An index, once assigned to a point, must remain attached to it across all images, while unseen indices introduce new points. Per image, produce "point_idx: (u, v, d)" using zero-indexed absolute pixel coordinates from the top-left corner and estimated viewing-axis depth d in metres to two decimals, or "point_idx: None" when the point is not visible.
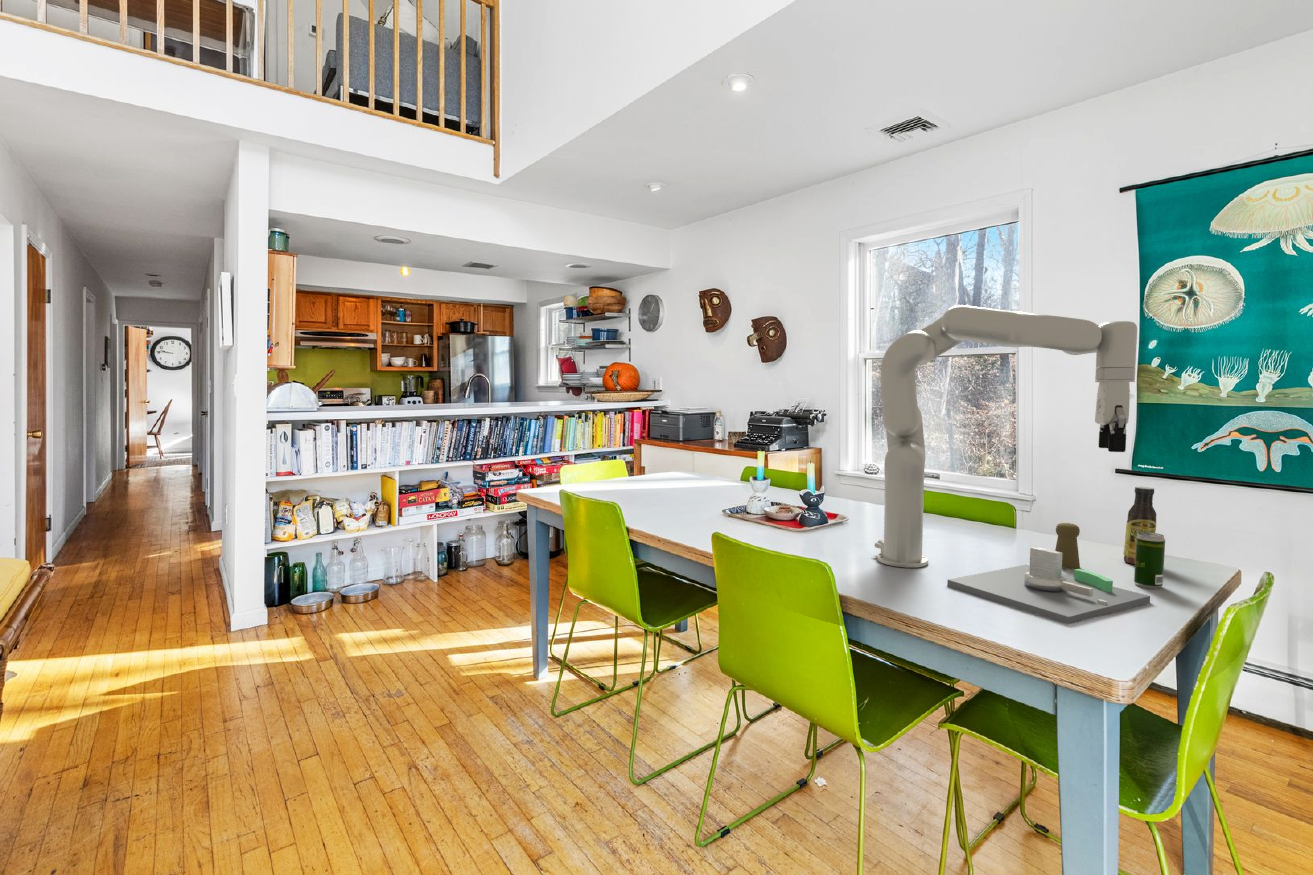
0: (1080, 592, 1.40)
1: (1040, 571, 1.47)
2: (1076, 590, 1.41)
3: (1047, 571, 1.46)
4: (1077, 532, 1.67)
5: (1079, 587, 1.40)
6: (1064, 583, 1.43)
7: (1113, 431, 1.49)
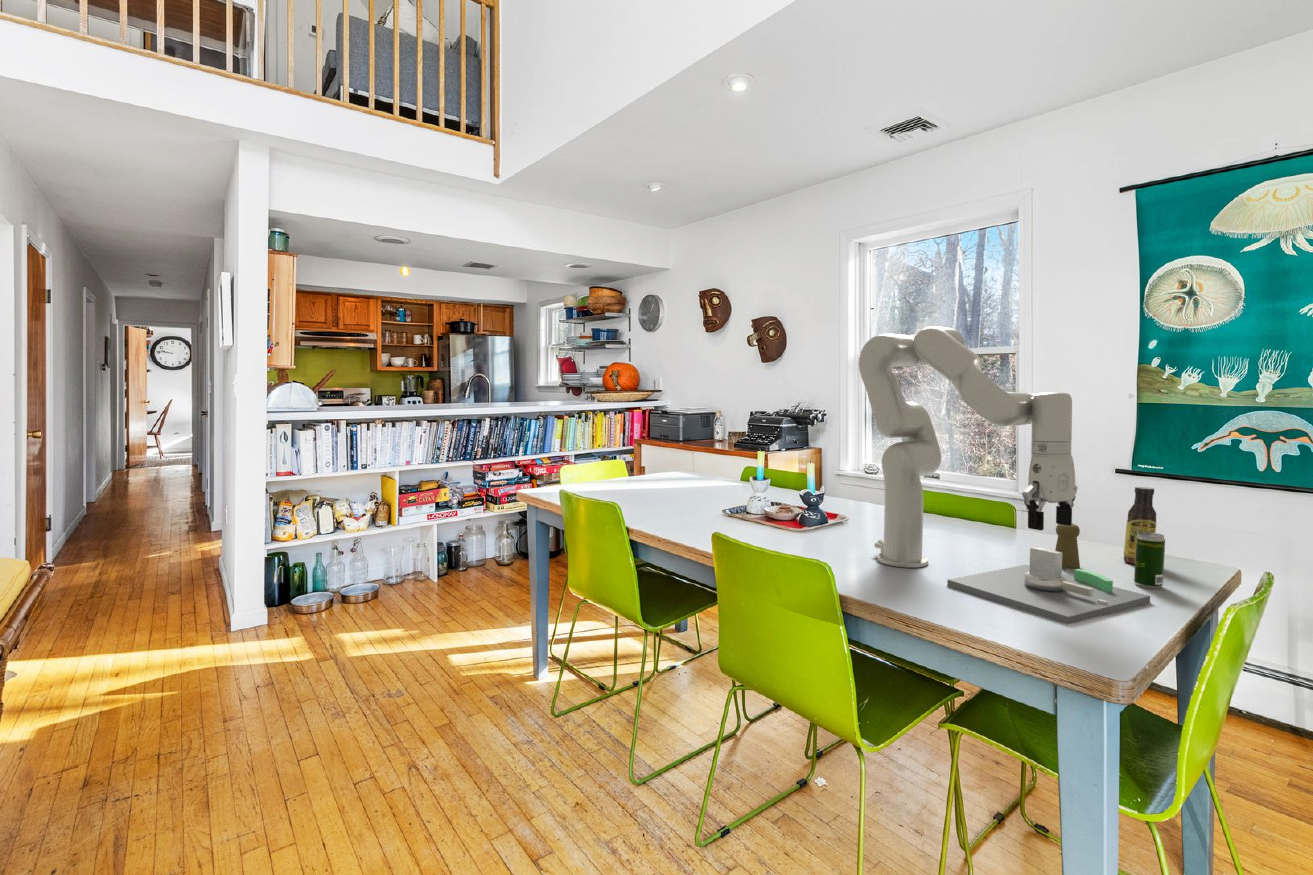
0: (1080, 592, 1.40)
1: (1040, 571, 1.47)
2: (1076, 590, 1.41)
3: (1047, 571, 1.46)
4: (1077, 532, 1.67)
5: (1079, 587, 1.40)
6: (1064, 583, 1.43)
7: None
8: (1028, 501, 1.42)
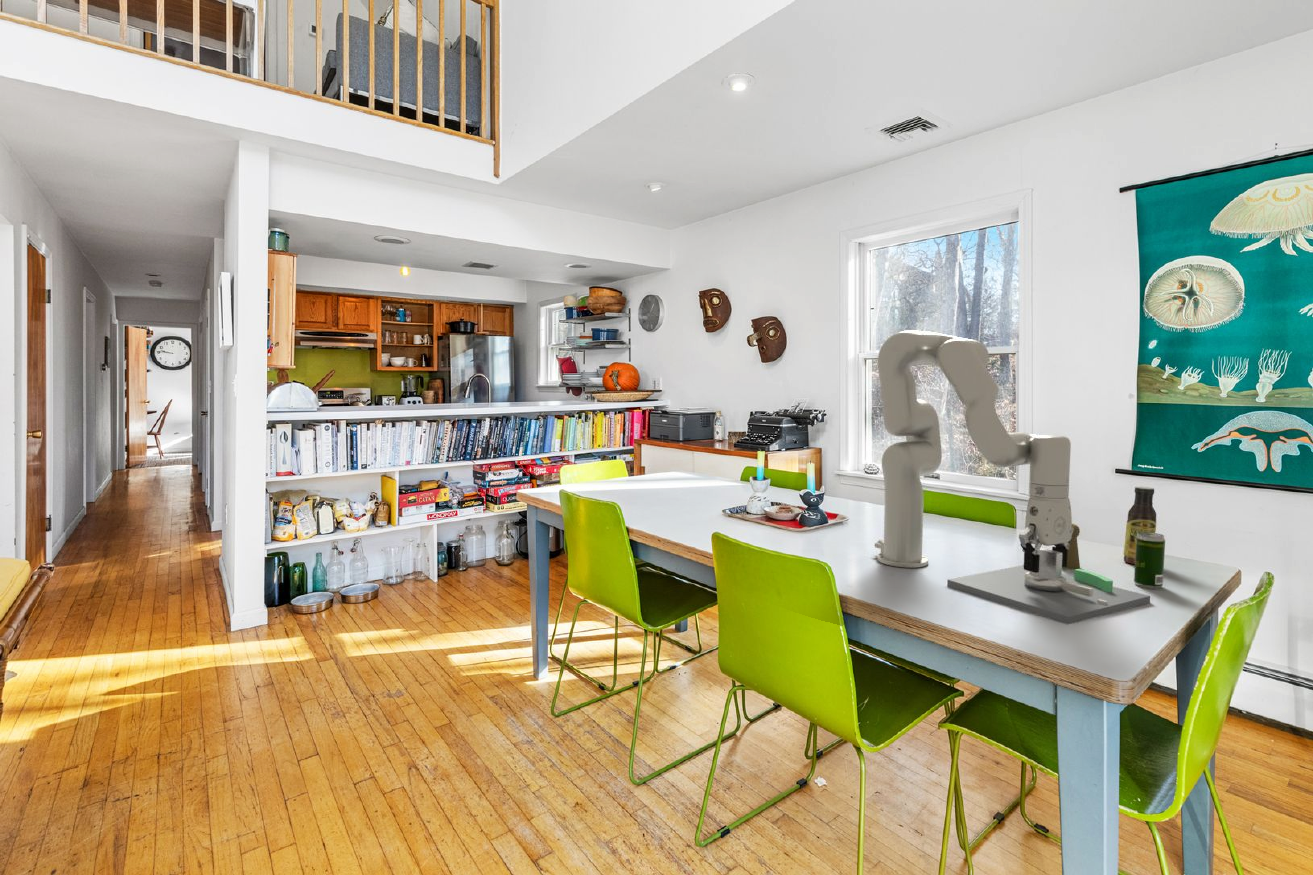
0: (1080, 592, 1.40)
1: (1040, 571, 1.47)
2: (1076, 590, 1.41)
3: (1047, 571, 1.46)
4: (1077, 532, 1.67)
5: (1079, 587, 1.40)
6: (1064, 583, 1.43)
7: None
8: (1024, 544, 1.43)
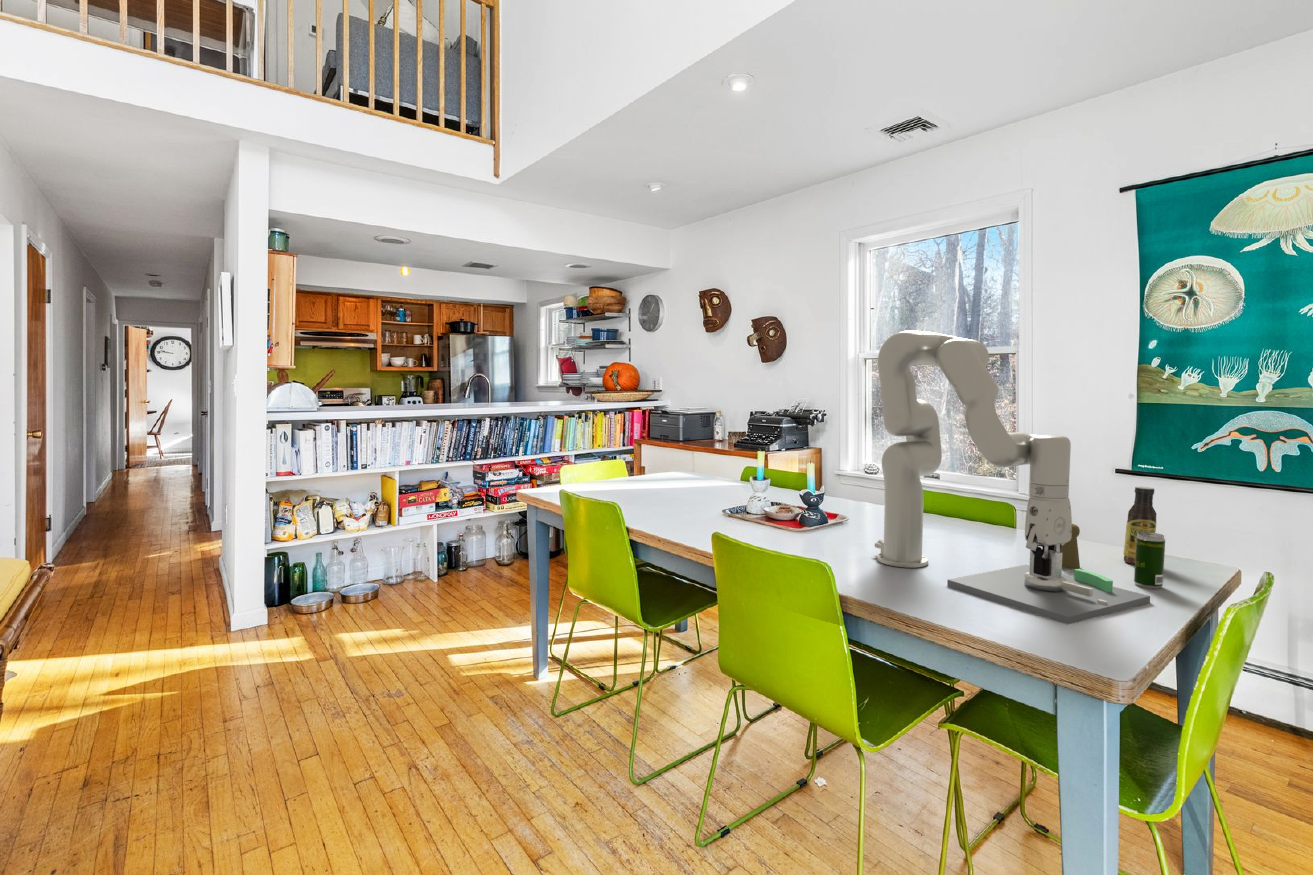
0: (1080, 592, 1.40)
1: None
2: (1076, 590, 1.41)
3: None
4: (1077, 532, 1.67)
5: (1079, 587, 1.40)
6: (1064, 583, 1.43)
7: None
8: (1034, 550, 1.45)
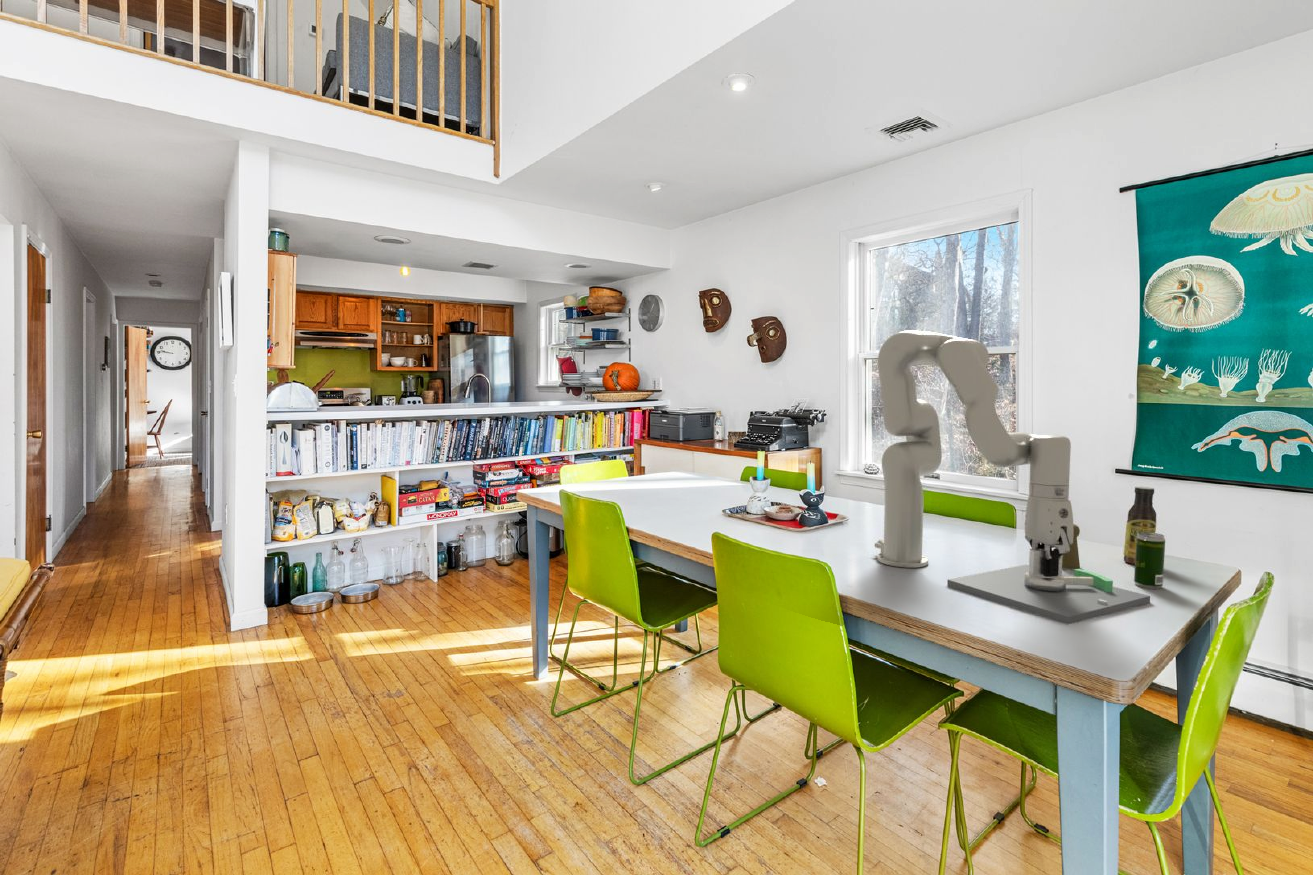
0: (1084, 583, 1.46)
1: None
2: (1080, 582, 1.46)
3: None
4: (1077, 532, 1.67)
5: (1083, 578, 1.46)
6: (1067, 578, 1.46)
7: None
8: (1062, 553, 1.42)
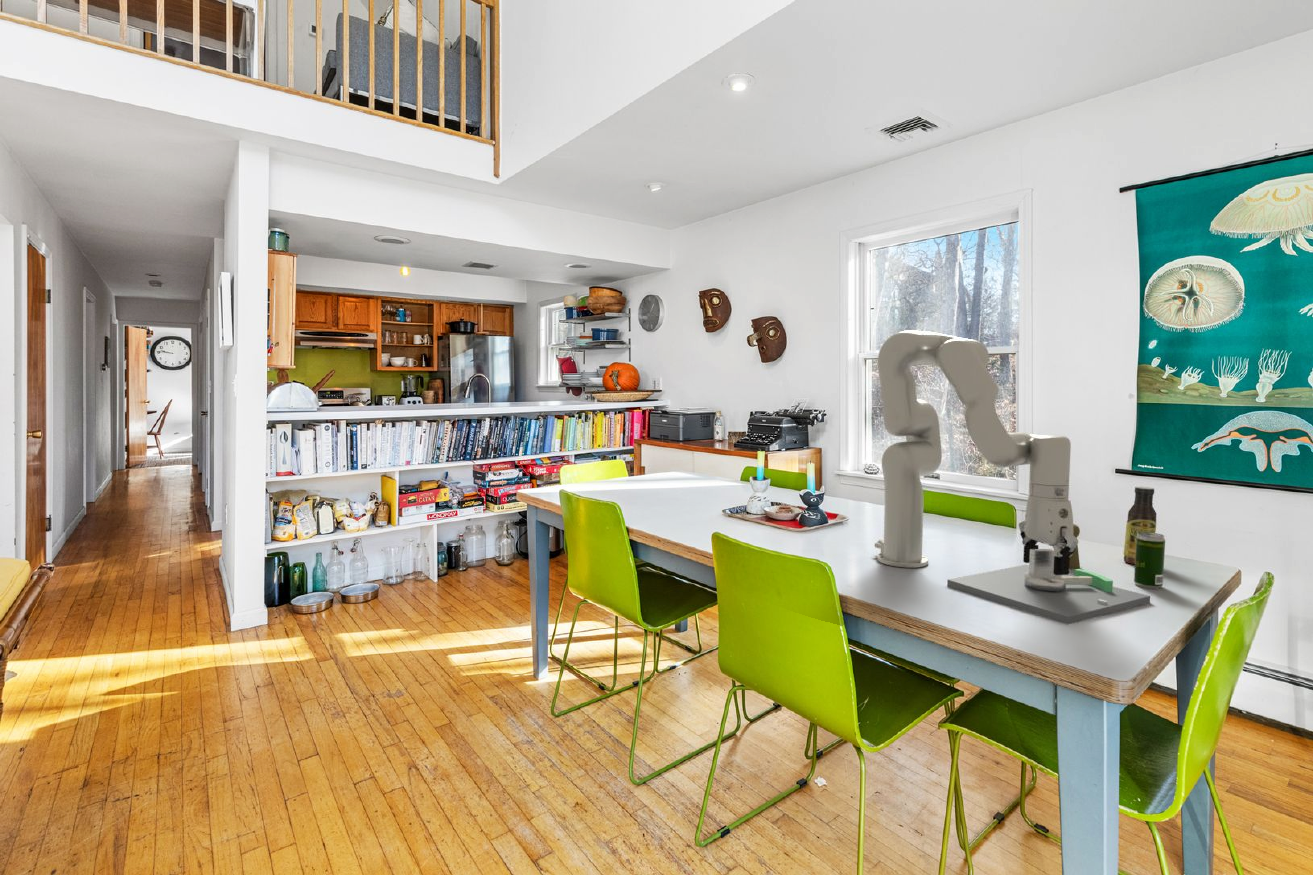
0: (1083, 582, 1.47)
1: (1045, 572, 1.46)
2: (1079, 582, 1.47)
3: (1053, 570, 1.46)
4: (1077, 532, 1.67)
5: (1082, 578, 1.47)
6: (1067, 578, 1.47)
7: None
8: (1073, 548, 1.39)
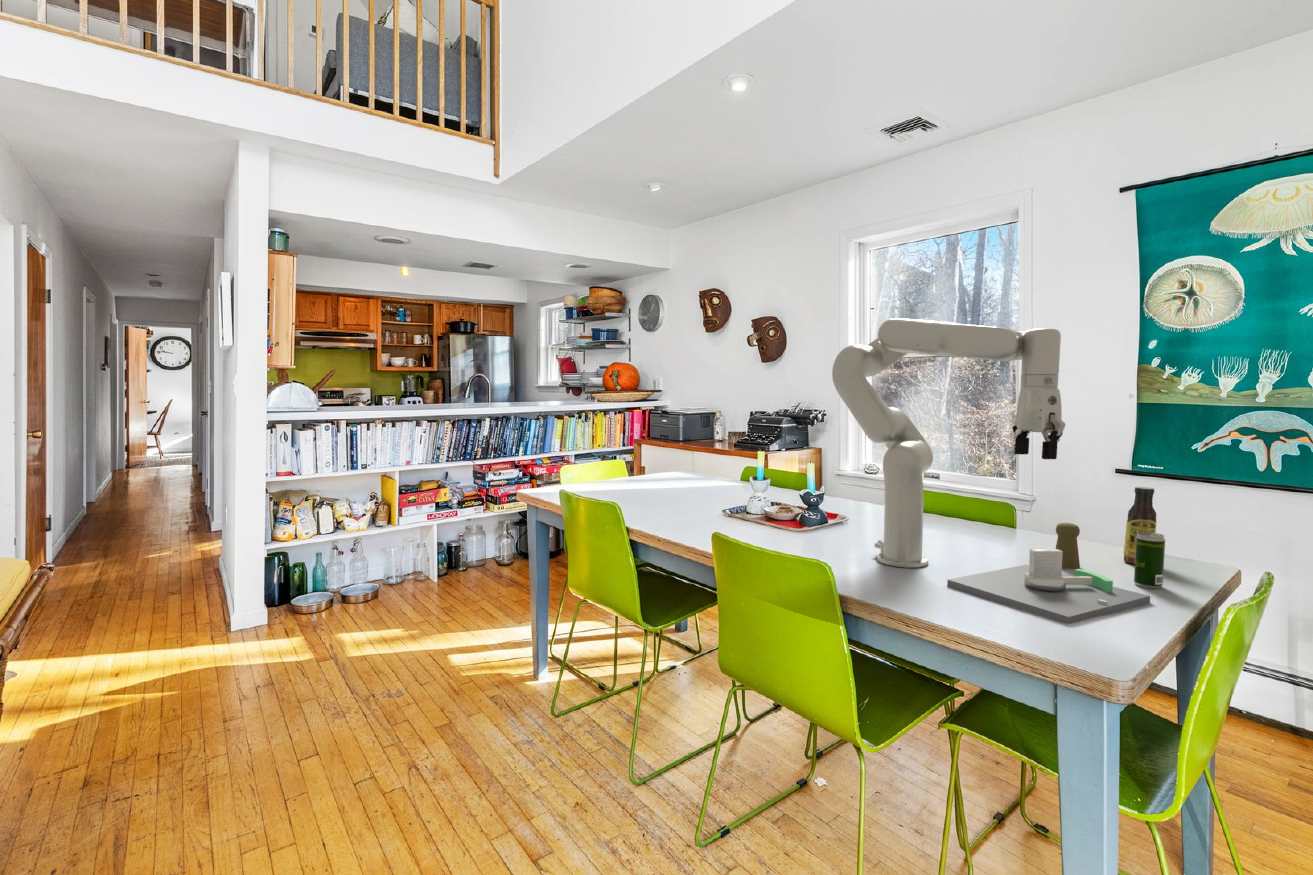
0: (1083, 582, 1.47)
1: (1045, 572, 1.46)
2: (1079, 582, 1.47)
3: (1053, 570, 1.46)
4: (1077, 532, 1.67)
5: (1082, 578, 1.47)
6: (1067, 578, 1.47)
7: None
8: (1061, 432, 1.47)
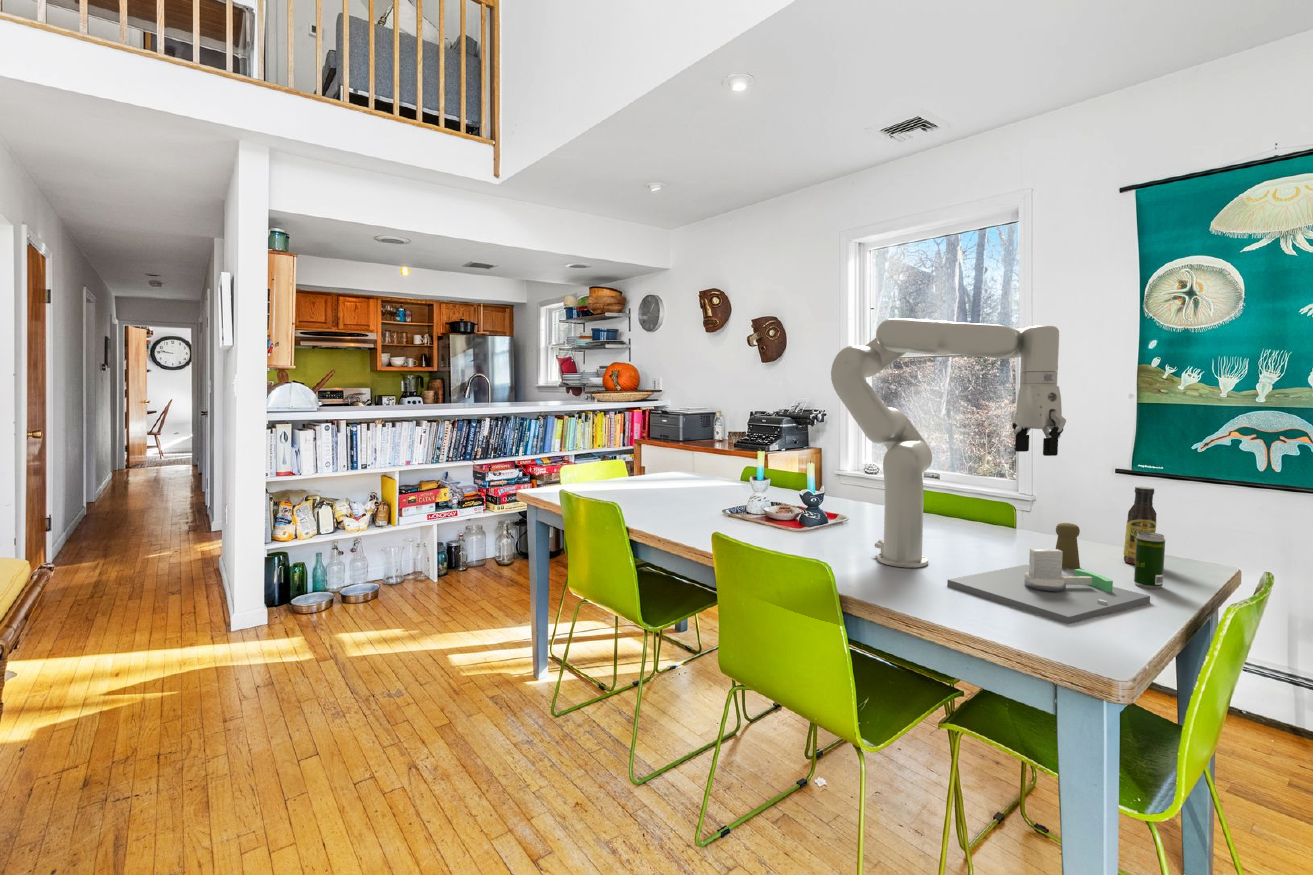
0: (1083, 582, 1.47)
1: (1045, 572, 1.46)
2: (1079, 582, 1.47)
3: (1053, 570, 1.46)
4: (1077, 532, 1.67)
5: (1082, 578, 1.47)
6: (1067, 578, 1.47)
7: None
8: (1061, 428, 1.47)
